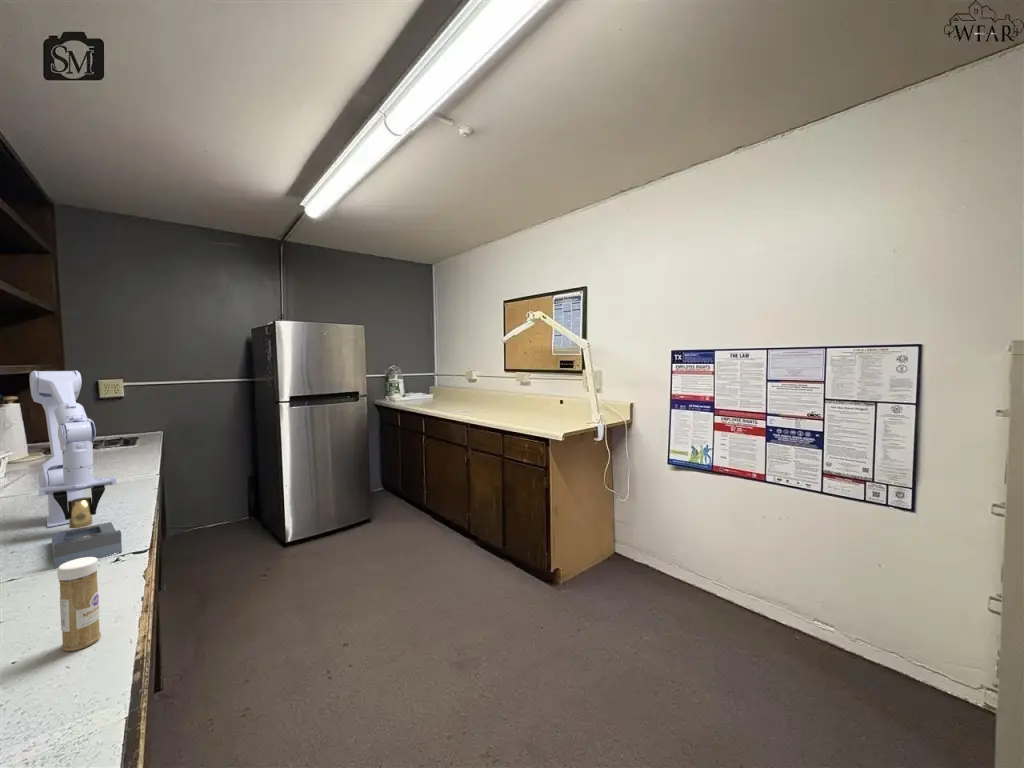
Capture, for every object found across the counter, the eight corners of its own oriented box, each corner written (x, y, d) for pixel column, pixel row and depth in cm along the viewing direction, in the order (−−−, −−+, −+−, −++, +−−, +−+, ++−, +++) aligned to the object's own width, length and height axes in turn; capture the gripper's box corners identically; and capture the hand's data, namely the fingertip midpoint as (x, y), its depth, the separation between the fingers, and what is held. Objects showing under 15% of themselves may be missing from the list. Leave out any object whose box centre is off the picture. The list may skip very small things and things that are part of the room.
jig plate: (51, 543, 107) (51, 524, 107) (111, 531, 115) (110, 512, 115) (54, 569, 94) (53, 546, 94) (121, 552, 102) (121, 532, 102)
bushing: (68, 525, 114) (67, 499, 114) (91, 520, 117) (90, 495, 117) (69, 529, 111) (68, 503, 111) (93, 525, 115) (92, 499, 114)
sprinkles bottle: (97, 645, 68) (93, 563, 68) (56, 656, 66) (52, 571, 65) (104, 630, 72) (101, 553, 71) (66, 640, 69) (62, 560, 69)
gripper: (38, 474, 106) (40, 527, 106) (117, 464, 116) (119, 512, 117) (37, 469, 110) (40, 520, 111) (113, 460, 121) (115, 506, 122)
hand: (80, 516), depth 114 cm, fingers closed on bushing, 4 cm apart
